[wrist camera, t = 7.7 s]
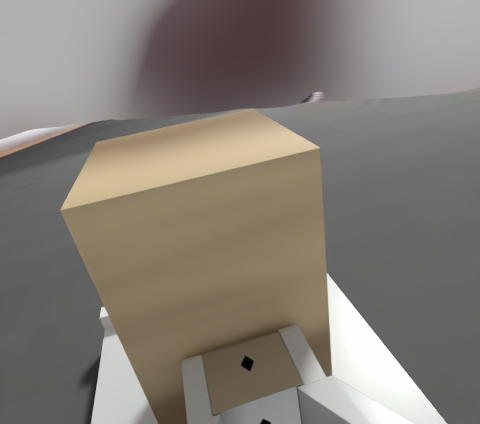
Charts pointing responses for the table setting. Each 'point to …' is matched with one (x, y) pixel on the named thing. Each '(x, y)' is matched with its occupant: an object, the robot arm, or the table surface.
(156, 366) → the block
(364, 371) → the channel
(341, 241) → the table surface
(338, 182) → the table surface
